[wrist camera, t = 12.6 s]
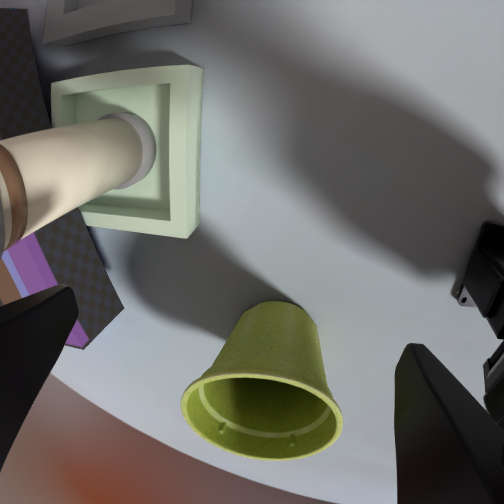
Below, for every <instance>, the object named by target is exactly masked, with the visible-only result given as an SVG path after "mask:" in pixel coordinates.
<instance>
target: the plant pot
mask: <svg viewBox="0 0 504 504" xmlns="http://www.w3.org/2000/svg"><path fill="white" fill-rule="evenodd" d="M181 410H182V414H183V417H184V419H185V420H186V422H187V423H188V425H189V426H190V427H191V428H192V430H193V431H194V432H196V433H197V434H198V435H199V436H200V437H202V438H203V439H204V440H206V441H207V442H209V443H210V444H212V445H214V446H216V447H218V448H221V449H223V450H225V451H227V452H230V453H233V454H236V455H239V456H243V457H247V458H253V459H259V460H273V461H283V460H293V459H300V458H304V457H308V456H311V455H314V454H316V453H319V452H321V451H323V450H325V449H326V448H328V447H329V446H331V445H332V444H333V443H334V442H335V441H336V440H337V438H338V437H339V435H340V433H341V431H342V427H343V418H342V413H341V410H340V408H339V406H338V404H337V403H336V402H335V400H334V399H333V396H332V394H331V392H330V390H329V388H328V387H327V381H326V376H325V371H324V365H323V360H322V354H321V348H320V342H319V336H318V331H317V327H316V324H315V323H314V322H313V320H312V319H311V318H310V317H309V316H308V314H307V313H306V312H305V311H304V310H303V309H301V308H300V307H298V306H296V305H294V304H291V303H287V302H282V301H266V302H262V303H259V304H258V305H256V306H254V307H252V308H250V309H249V310H247V311H245V312H244V313H243V314H242V315H241V317H240V318H239V320H238V322H237V324H236V326H235V327H234V329H233V331H232V333H231V334H230V336H229V338H228V340H227V341H226V343H225V345H224V346H223V348H222V350H221V351H220V353H219V355H218V356H217V358H216V360H215V361H214V363H213V365H212V366H211V367H210V368H209V369H208V370H207V371H206V372H205V373H204V374H203V375H202V376H201V377H200V378H198V379H197V380H195V381H194V382H192V383H191V384H190V385H189V386H188V387H187V389H186V390H185V392H184V394H183V396H182V399H181Z"/></svg>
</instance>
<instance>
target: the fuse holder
mask: <svg viewBox="0 0 504 504" xmlns="http://www.w3.org/2000/svg"><path fill="white" fill-rule="evenodd" d="M192 2H193V0H48V2H47V8H46V16H45V24H44V34H43V45H57V46H67V45H71V44H74V43H78V42H82V41H86V40H90V39H94V38H98V37H103V36H108V35H112V34H117V33H123V32H128V31H134V30H140V29H146V28H153V27H161V26H170V25H179V24H190V23H191V13H192Z"/></svg>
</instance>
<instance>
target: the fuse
mask: <svg viewBox="0 0 504 504" xmlns="http://www.w3.org/2000/svg"><path fill="white" fill-rule="evenodd" d="M156 149H157V148H156V140H155V136H154V133H153V131H152V129H151V127H150V126H149V124H148V123H147V122H146V121H145V120H144V119H143V118H141V117H140V116H138V115H136V114H133V113H129V112H120V113H112V114H107V115H104V116H103V117H101V118H99V119H98V120H96V121H90V122H84V123H78V124H72V125H67V126H61V127H56V128H51V129H46V130H42V131H37V132H33V133H28V134H24V135H20V136H16V137H12V138H8V139H5V140H1V141H0V260H1V257H2V255H3V252H4V251H6V250H7V249H9V248H11V247H12V246H14V245H15V244H17V243H18V242H19V241H20V240H21V239H23V238H24V237H26V236H28V235H29V234H31V233H33V232H34V231H36V230H38V229H39V228H41V227H43V226H45V225H46V224H48V223H50V222H52V221H53V220H55V219H57V218H59V217H60V216H62V215H64V214H66V213H68V212H70V211H71V210H73V209H75V208H77V207H79V206H81V205H83V204H85V203H86V202H88V201H90V200H92V199H94V198H96V197H98V196H100V195H102V194H104V193H106V192H108V191H110V190H112V189H116V190H117V189H124V188H127V187H129V186H131V185H133V184H135V183H137V182H139V181H141V180H142V179H144V178H145V177H146V176H147V175H148V173H149V172H150V171H151V169H152V167H153V165H154V162H155V158H156Z"/></svg>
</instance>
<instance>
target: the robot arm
mask: <svg viewBox="0 0 504 504" xmlns="http://www.w3.org/2000/svg"><path fill="white" fill-rule="evenodd" d="M489 227H490V230H489V231H487V229H488V228H489ZM464 297H465V298H464ZM462 298H464V299H463V300H462ZM457 302H458V304H459V305H461V306H468V307H477V308H478V309H479V311H480V313H481V315H482V316H483V317H484V318H486V319H487V321H488V322H489V324H490V326H491V328H492V329H493V331H494V333H495V335H496V337H497V339H503V342H502V343H501V344H500V346H499V347H498V348H497V350H496V351H495V352H494V354H493V355H492V356H491V358H488V359H487V361H486V362H485V363H484V364H483V369H484V380H485V395H484V397H483V398H484V404H485V408H486V410H485V409H484V408H483V407H482V406H481V405H480V404H479V402H478V401H477V400H476V399H475V398H474V397H473V396H472V395H471V394H470V393H469V392H468V390H467V389H466V388H465V387H464V386H463V385H462V384H461V383H460V382H459V381H458V380H457V379H456V378H455V377H454V375H453V374H452V373H451V372H450V371H449V370H448V369H447V368H446V367H445V366H444V365H443V364H442V363H441V362H440V361H439V360H438V359H437V358H436V357H435V356H434V355H433V354H432V353H431V351H430V350H429V349H428V348H427V347H426V346H425V345H423V344H417V343H409V344H407V345H406V347H405V349H404V351H403V353H402V355H401V357H400V360H399V362H398V364H397V366H396V369H395V411H394V431H395V446H396V465H397V504H504V225H503V224H499V223H495V222H491V221H486V222H485V223H484V224H483V225H482V228H481V231H480V235H479V238H478V241H477V244H476V247H475V250H474V251H473V253H472V256H471V259H470V262H469V265H468V267H467V270H466V273H465V276H464V278H463V281H462V285H461V288H460V290H459V293H458V295H457ZM78 316H79V308H78V304H77V301H76V297H75V293H74V290H73V288H72V287H70V286H67V285H64V284H58V285H55V286H53V287H50V288H47V289H45V290H42V291H39V292H37V293H34V294H31V295H29V296H26V297H23V298H21V299H18V300H16V301H13V302H10V303H8V304H5V305H3V306H0V472H1V469H2V467H3V464H4V462H5V460H6V458H7V455H8V453H9V451H10V448H11V447H12V444H13V442H14V440H15V438H16V436H17V434H18V432H19V430H20V428H21V426H22V424H23V422H24V420H25V418H26V416H27V414H28V412H29V410H30V408H31V406H32V404H33V402H34V401H35V399H36V397H37V395H38V393H39V391H40V390H41V388H42V386H43V384H44V382H45V380H46V379H47V377H48V375H49V374H50V372H51V370H52V368H53V367H54V365H55V363H56V361H57V360H58V358H59V356H60V354H61V352H62V350H63V347H64V345H65V343H66V341H67V339H68V337H69V335H70V333H71V331H72V329H73V327H74V325H75V323H76V321H77V319H78Z"/></svg>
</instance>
